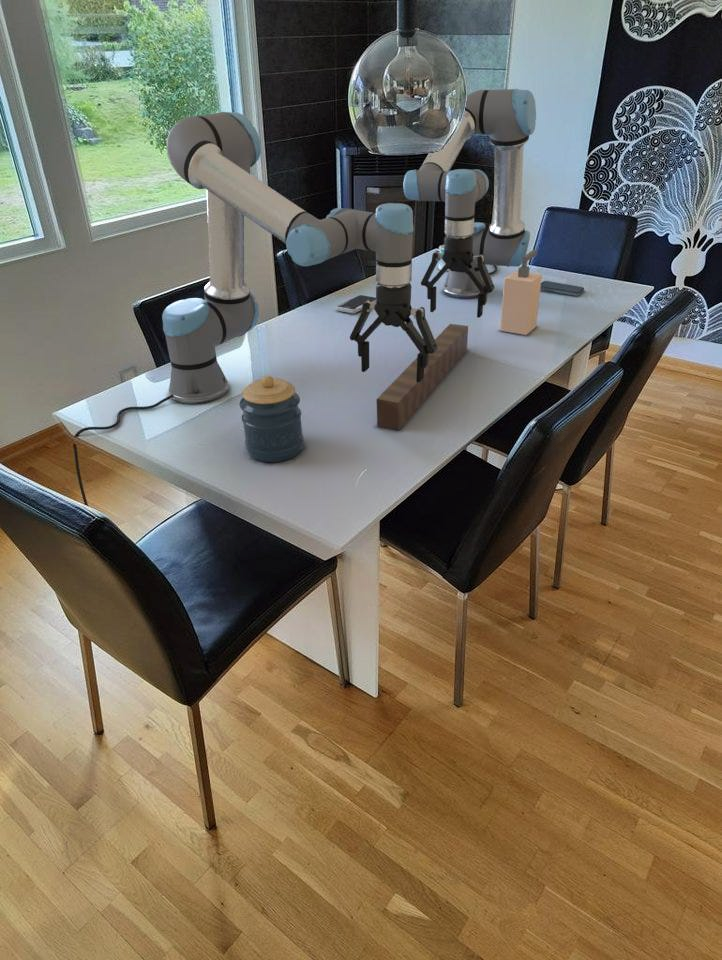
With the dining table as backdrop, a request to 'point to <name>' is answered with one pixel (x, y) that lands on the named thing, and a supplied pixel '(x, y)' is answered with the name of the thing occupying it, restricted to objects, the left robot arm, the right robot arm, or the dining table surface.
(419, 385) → the post
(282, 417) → the canister
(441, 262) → the mug
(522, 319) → the soap dispenser
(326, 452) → the dining table surface
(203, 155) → the left robot arm
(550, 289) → the smartphone
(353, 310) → the smartphone
